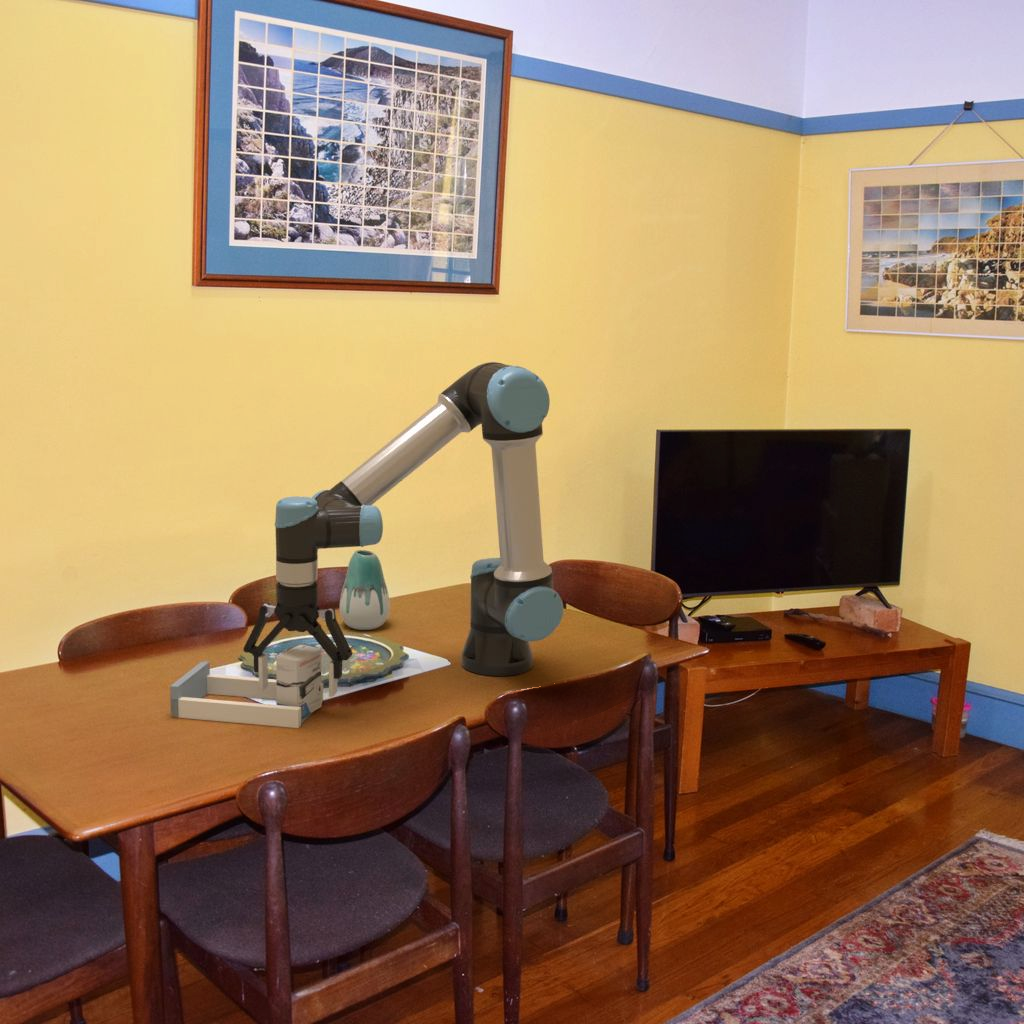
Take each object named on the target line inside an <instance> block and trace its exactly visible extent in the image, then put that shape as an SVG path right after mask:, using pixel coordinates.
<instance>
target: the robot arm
mask: <svg viewBox="0 0 1024 1024" xmlns="http://www.w3.org/2000/svg"><path fill="white" fill-rule="evenodd" d="M550 401H551V400H550V394H549V390H548V388H547V386H546V384H545V382H544V381H543V380H542V379H541V378H540V376H538V375H537V374H536V373H534V372H532V371H531V370H530V369H527V368H525V367H522V366H518V365H509V364H505V363H501V362H496V361H490V362H485V363H482V364H479V365H477V366H475V367H474V368H472V369H470V370H469V371H467V372H466V373H464V374H463V375H461V376H460V377H459V378H458V379H456V381H454V382H453V383H452V384H451V385H449V386H448V387H447V388H446V389H444V390H443V391H442V392H441V393H439V394H438V397H437V402H436V403H435V404H434V405H432V407H430V408H429V409H428V410H426V412H424V413H423V414H421V415H420V416H419V417H418V418H417V419H415V420H414V421H413V422H412V423H411V424H409V426H407V427H406V428H405V429H403V430H402V431H401V432H400V433H398V434H397V435H396V436H395V437H394V438H392V439H391V440H390V441H389V442H387V444H385V445H383V447H381V448H380V449H379V450H378V451H376V452H375V453H374V454H373V455H371V456H370V457H369V458H367V460H365V461H364V462H363V463H361V464H360V465H359V466H358V467H357V468H356V469H354V470H353V471H352V472H351V473H349V474H348V475H347V476H345V478H343V479H342V480H341V481H339V482H338V483H337V484H336V485H334V486H332V488H330V489H323V490H319V491H318V492H316V493H315V494H313V495H312V497H310V496H309V497H308V496H287V497H283V498H281V499H279V500H278V501H277V503H276V504H275V505H276V506H275V519H274V520H275V521H274V522H275V523H274V527H275V579H276V581H277V583H276V587H275V588H276V594H275V595H276V606H275V605H271V603H269V602H266V603H264V604H263V605H262V606H261V605H260V607H259V613H258V618H257V620H256V622H255V624H254V626H253V629H252V630H251V633H250V634H249V636H248V638H247V640H246V643H245V644H244V647H243V653H247V654H248V653H249V654H251V655H252V656H253V670H254V672H255V673H258V678H259V691H263V690H264V689H265V688H267V687H268V679H269V677H268V674H269V670H268V669H269V667H268V662H269V661H268V652H267V653H265V652H264V651H265V650H266V649H267V648H268V647H269V645H270V644H271V643H272V642H274V640H275V639H276V638H277V637H278V636H279V634H280V633H281V632H283V630H287V632H295V631H296V632H299V633H305V632H308V634H309V635H310V636H312V637H313V638H314V640H316V642H317V643H318V645H319V646H320V647H321V649H323V651H324V652H325V653H326V654H327V656H328V657H329V658H330V659H331V660H330V662H329V663H328V697H330V698H333V697H334V696H335V695H337V693H338V680H339V679H340V678H342V675H343V662H344V661H348V660H349V659H350V658H351V657H352V655H353V651H352V649H351V647H350V645H349V643H348V641H347V639H346V636H345V635H344V633H343V631H342V629H341V626H340V624H339V622H338V620H337V616H336V610H335V608H334V607H333V606H332V607H329V608H328V609H320V608H319V607H320V606H319V603H318V602H319V584H318V582H317V580H318V577H319V576H318V567H319V566H318V563H319V562H318V556H319V555H318V551H319V550H320V549H325V550H326V549H338V548H353V547H354V548H355V547H357V548H358V547H360V548H364V547H366V546H373V545H377V544H379V543H380V542H381V540H382V538H383V531H384V530H383V529H384V525H383V524H384V523H383V517H382V516H383V515H382V513H381V511H380V509H379V508H378V506H376V505H374V504H375V503H376V502H378V501H379V500H380V499H382V497H384V496H385V495H386V494H387V493H389V492H390V491H391V490H392V489H394V488H395V487H396V486H397V485H399V483H401V482H402V481H403V480H404V479H407V477H408V476H409V475H411V474H412V473H413V472H414V471H416V470H417V469H418V468H419V467H421V465H423V464H424V463H426V461H428V460H429V459H430V458H432V457H433V456H434V455H436V454H437V453H438V452H439V451H440V450H441V449H443V448H444V447H445V446H447V444H449V443H450V442H451V441H453V440H454V439H455V438H457V437H458V436H459V435H460V434H461V433H467V434H469V433H470V432H471V431H474V429H475V428H476V427H478V426H480V425H481V432H482V433H481V434H482V440H483V441H484V442H485V443H486V444H488V445H489V446H490V448H491V459H492V471H493V473H492V474H493V482H494V483H493V484H494V487H493V488H494V496H495V497H494V499H495V509H496V520H497V521H496V522H497V534H498V535H497V536H498V548H499V557H489V558H482V559H479V560H475V562H473V564H472V566H471V573H470V576H469V577H470V623H469V624H470V626H469V627H470V629H469V632H468V634H467V638H466V641H465V643H464V647H463V649H462V652H461V666H462V668H464V669H465V670H466V671H469V672H470V673H471V672H472V673H474V674H478V675H484V676H493V677H497V676H498V677H504V676H516V675H519V674H524V673H525V672H528V671H529V670H531V669H532V667H533V661H534V659H533V657H534V656H533V652H532V649H531V645H530V642H537V641H542V640H544V639H546V638H548V637H549V636H551V634H553V633H554V632H555V630H556V629H557V628H558V627H559V625H560V624H561V621H562V619H563V616H564V604H563V600H562V598H561V596H560V594H559V593H558V592H557V591H556V590H555V589H554V580H553V570H552V569H553V568H552V567H551V566H550V565H549V564H548V563H547V562H545V560H544V548H543V547H544V546H543V536H542V535H543V534H542V533H543V531H542V519H541V516H542V515H541V503H540V492H539V491H540V489H539V477H538V462H537V447H536V446H537V445H536V444H537V442H538V441H539V439H541V437H542V436H543V434H544V433H543V422H544V420H545V419H546V417H547V416H548V413H549V411H550V404H551V403H550ZM273 614H274V615H275V617H276V618H277V619H278V622H277V624H276V625H275V626H274V627H273V628H272V629H271V631H270V632H269V633H268V634H267V635H266V637H265V638H263V640H262V641H261V642H260V643H259V645H257V642H258V641H259V638H260V636H261V634H262V632H263V630H264V628H265V626H266V624H267V622H268V620H269V618H270V617H271V616H273ZM319 617H320V618H321V619H322V621H323V622H325V624H326V627H327V629H328V631H329V633H330V635H331V637H332V639H331V638H330V637H329V635H328V634H327V633H326V631H324V629H323V628H322V625H321V624H320V622H318V619H319ZM333 641H334V642H333Z"/></svg>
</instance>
